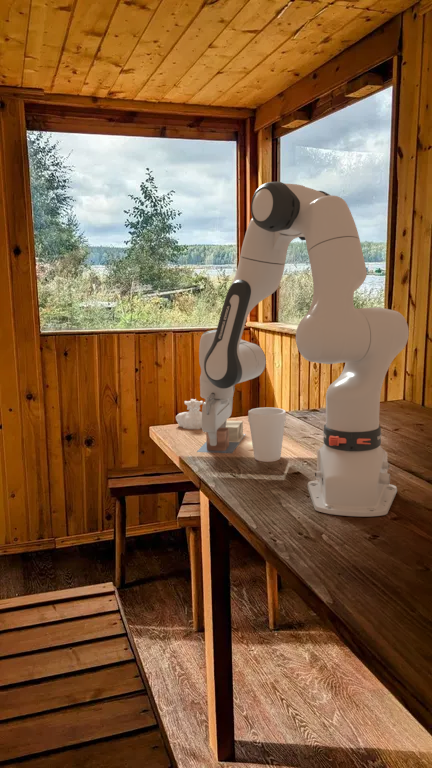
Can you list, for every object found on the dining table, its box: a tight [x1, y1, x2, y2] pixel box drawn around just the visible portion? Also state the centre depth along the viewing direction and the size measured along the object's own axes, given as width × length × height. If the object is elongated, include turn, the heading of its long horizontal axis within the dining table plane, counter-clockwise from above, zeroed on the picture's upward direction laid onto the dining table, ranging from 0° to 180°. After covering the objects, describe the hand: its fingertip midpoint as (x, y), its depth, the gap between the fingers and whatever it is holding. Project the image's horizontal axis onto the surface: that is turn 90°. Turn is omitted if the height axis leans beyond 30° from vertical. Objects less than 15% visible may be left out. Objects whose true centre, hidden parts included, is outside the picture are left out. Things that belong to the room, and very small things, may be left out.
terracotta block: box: [205, 428, 229, 451], centre depth 162 cm, size 5×5×5 cm
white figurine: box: [175, 398, 204, 430], centre depth 185 cm, size 12×8×11 cm
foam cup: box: [247, 407, 287, 463], centre depth 151 cm, size 10×9×13 cm
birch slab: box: [226, 420, 244, 442], centre depth 172 cm, size 8×8×4 cm
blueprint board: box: [196, 433, 247, 454], centre depth 167 cm, size 20×10×1 cm, turn 167°
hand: (218, 440), depth 162 cm, fingers open, 8 cm apart
